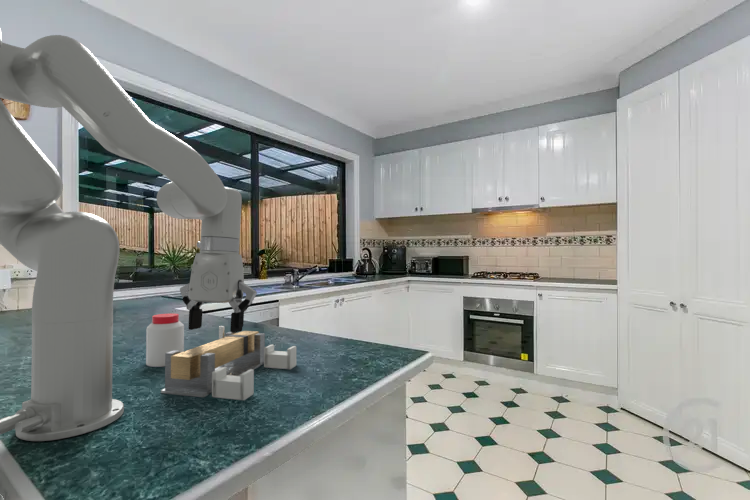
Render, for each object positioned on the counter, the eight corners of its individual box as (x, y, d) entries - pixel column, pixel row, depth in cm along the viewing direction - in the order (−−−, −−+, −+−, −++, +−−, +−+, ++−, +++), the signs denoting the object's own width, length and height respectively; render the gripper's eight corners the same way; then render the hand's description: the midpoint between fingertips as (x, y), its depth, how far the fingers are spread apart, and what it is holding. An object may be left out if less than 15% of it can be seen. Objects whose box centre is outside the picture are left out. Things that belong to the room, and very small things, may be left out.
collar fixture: (203, 397, 66) (204, 346, 66) (160, 393, 68) (161, 343, 68) (266, 362, 88) (267, 324, 88) (232, 360, 90) (232, 322, 90)
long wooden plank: (190, 380, 66) (190, 357, 66) (170, 378, 67) (170, 355, 67) (258, 348, 89) (258, 331, 89) (243, 347, 90) (243, 330, 90)
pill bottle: (154, 369, 83) (155, 319, 83) (140, 362, 87) (140, 315, 88) (189, 361, 89) (190, 314, 89) (174, 355, 94) (174, 311, 94)
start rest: (244, 400, 65) (244, 374, 65) (211, 396, 66) (212, 372, 66) (296, 365, 85) (296, 346, 86) (270, 363, 87) (270, 344, 87)
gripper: (171, 245, 76) (165, 330, 75) (247, 246, 72) (242, 336, 71) (196, 248, 84) (191, 325, 83) (266, 249, 80) (262, 330, 79)
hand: (215, 330), depth 77 cm, fingers open, 9 cm apart
